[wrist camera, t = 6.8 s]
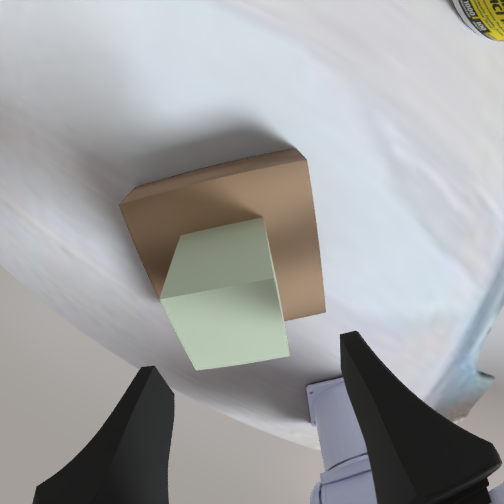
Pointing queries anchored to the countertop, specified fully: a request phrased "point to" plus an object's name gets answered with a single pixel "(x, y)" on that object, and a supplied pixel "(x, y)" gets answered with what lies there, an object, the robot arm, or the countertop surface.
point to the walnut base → (236, 220)
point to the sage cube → (225, 297)
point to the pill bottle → (483, 17)
